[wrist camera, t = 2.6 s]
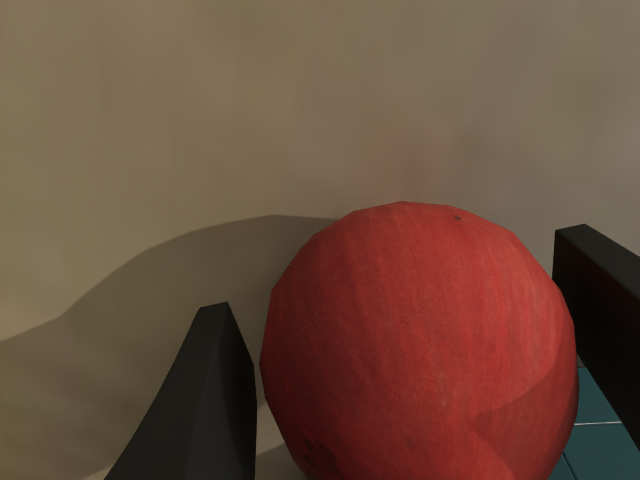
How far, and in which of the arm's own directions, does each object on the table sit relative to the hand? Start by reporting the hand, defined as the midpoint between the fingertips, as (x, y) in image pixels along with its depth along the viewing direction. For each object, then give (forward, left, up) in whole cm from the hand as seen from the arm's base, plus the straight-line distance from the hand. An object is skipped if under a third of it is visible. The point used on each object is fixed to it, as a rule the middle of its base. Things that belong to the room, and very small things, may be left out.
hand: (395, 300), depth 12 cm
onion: (0, 0, -2) cm, 2 cm away
